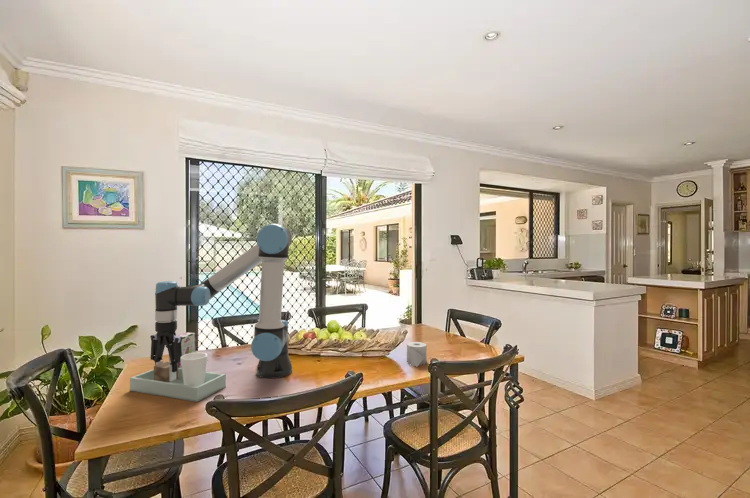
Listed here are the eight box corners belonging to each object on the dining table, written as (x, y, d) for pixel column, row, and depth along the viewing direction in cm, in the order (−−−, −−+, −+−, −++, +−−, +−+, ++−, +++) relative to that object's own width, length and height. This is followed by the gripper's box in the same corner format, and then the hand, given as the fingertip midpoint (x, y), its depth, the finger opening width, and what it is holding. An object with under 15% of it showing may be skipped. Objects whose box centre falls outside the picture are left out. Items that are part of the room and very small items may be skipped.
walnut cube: (178, 378, 150) (178, 363, 150) (165, 383, 145) (165, 368, 144) (166, 376, 152) (166, 361, 152) (153, 381, 146) (153, 366, 146)
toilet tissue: (416, 368, 171) (416, 350, 171) (403, 360, 184) (403, 342, 183) (434, 366, 175) (434, 348, 175) (420, 358, 187) (420, 341, 187)
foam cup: (186, 385, 148) (186, 352, 148) (210, 384, 149) (210, 352, 149) (176, 395, 139) (176, 360, 139) (202, 394, 140) (202, 359, 140)
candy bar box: (186, 367, 171) (186, 332, 171) (196, 368, 170) (196, 332, 170) (168, 376, 160) (168, 338, 160) (178, 377, 159) (178, 338, 159)
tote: (225, 386, 149) (225, 374, 149) (197, 402, 135) (196, 388, 134) (162, 377, 159) (162, 365, 159) (130, 390, 144) (129, 377, 144)
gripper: (192, 320, 149) (192, 378, 149) (155, 317, 154) (155, 373, 155) (177, 324, 141) (177, 385, 142) (139, 320, 147) (139, 379, 148)
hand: (166, 378), depth 148 cm, fingers closed on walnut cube, 6 cm apart
